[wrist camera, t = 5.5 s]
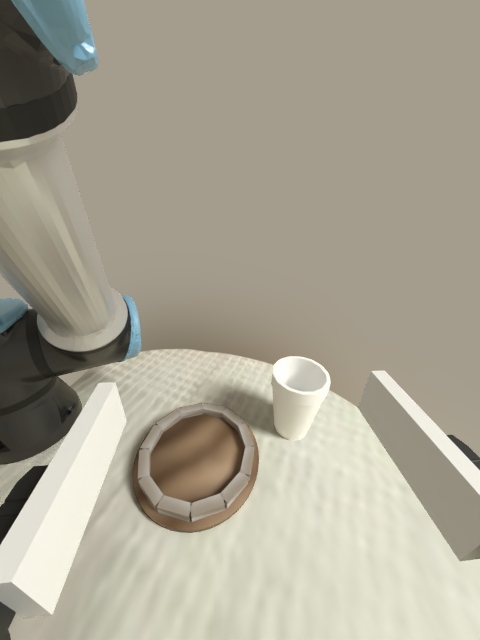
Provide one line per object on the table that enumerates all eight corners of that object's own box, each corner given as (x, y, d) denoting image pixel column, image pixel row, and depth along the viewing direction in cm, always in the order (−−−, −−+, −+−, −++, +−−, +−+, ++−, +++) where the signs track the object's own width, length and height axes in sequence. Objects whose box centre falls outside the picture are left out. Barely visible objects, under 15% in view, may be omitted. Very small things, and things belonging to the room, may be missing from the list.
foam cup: (269, 402, 50) (275, 352, 44) (313, 410, 49) (326, 360, 42) (263, 442, 42) (270, 389, 36) (317, 454, 40) (333, 400, 34)
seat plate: (111, 459, 39) (108, 449, 37) (205, 393, 52) (205, 384, 51) (185, 578, 27) (183, 570, 26) (282, 454, 40) (283, 445, 39)
